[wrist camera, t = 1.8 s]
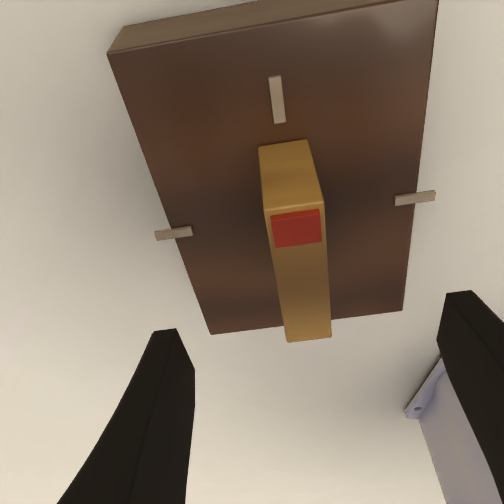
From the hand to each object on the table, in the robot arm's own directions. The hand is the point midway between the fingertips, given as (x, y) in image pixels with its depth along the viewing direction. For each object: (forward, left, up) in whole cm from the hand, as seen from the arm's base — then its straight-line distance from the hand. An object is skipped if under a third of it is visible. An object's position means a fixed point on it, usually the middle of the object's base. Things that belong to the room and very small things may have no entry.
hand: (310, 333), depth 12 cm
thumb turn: (0, 0, -5) cm, 5 cm away
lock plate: (0, 0, -8) cm, 8 cm away
